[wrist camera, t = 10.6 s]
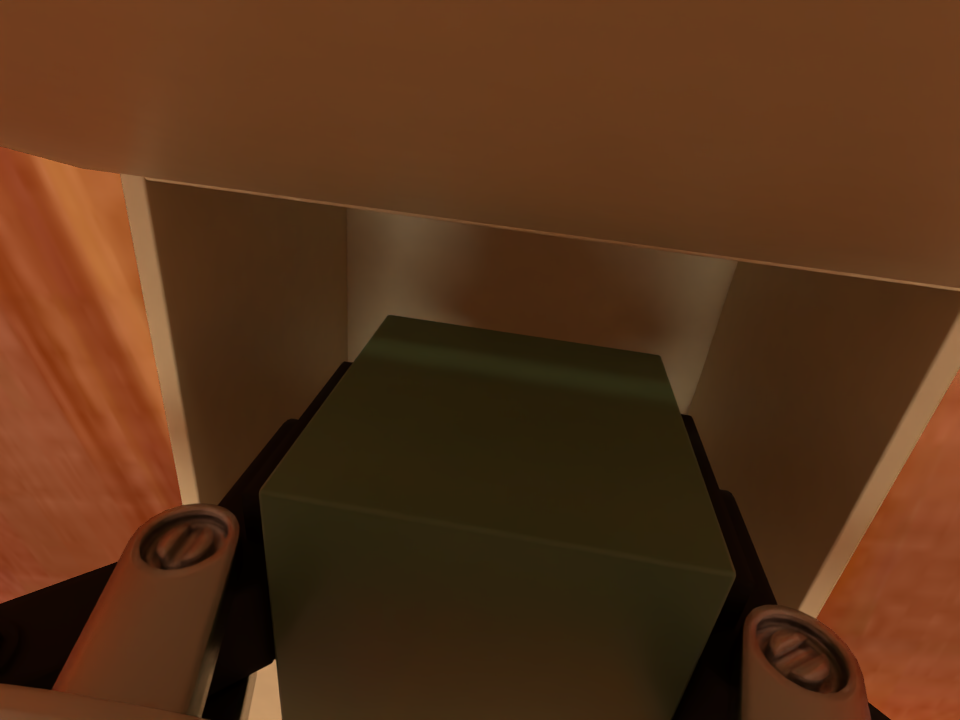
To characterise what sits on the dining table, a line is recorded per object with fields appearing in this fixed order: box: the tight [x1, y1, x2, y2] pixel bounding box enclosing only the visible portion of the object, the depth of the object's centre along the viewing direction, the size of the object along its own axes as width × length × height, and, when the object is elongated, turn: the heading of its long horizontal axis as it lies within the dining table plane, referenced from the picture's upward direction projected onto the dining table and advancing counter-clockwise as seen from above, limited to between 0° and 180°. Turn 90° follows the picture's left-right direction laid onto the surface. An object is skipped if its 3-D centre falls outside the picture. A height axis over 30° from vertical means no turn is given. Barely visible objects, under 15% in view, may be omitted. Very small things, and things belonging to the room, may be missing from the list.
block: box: [259, 315, 736, 720], centre depth 9 cm, size 5×5×5 cm
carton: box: [120, 174, 960, 720], centre depth 16 cm, size 17×13×10 cm
